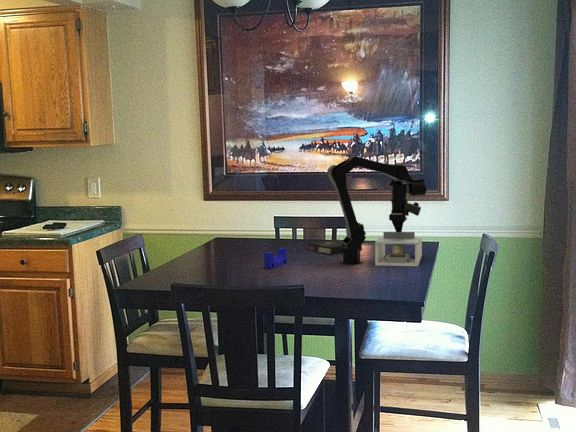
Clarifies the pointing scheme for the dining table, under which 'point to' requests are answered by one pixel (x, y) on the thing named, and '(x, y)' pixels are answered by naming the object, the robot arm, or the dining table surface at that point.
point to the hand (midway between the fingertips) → (399, 236)
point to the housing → (397, 261)
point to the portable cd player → (328, 247)
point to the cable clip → (275, 259)
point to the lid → (398, 238)
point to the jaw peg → (397, 250)
